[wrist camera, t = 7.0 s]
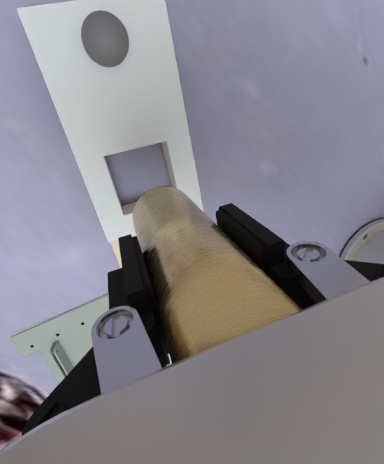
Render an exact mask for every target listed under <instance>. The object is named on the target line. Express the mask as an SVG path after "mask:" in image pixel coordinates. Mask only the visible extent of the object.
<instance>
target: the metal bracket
mask: <svg viewBox="0 0 384 464" xmlns="http://www.w3.org/2000/svg"><path fill="white" fill-rule="evenodd" d="M108 310H109V294H108V293H107V294H105V295H103V296H101V297H99V298H96V299H94V300H92V301H89V302H87V303H85V304H83V305H80V306H78V307H76V308H73V309H71V310H69V311H67V312H64V313H62V314H60V315H58V316H55V317H53V318H51V319H48V320H46V321H44V322H38V323H35V324H33V325H31V326H28V327H26V328H24V329H21V330H19V331H17V332H14V333H13V334H12V335H11V338H12V339H11V340H12V342H13V343H14V345H15V346H16V348H17V350H18V351H19V353H20V355H21V356H24V357H26V356H28V355H31V354H33V353H35V352H37V351H41V352H42V353H43V355H44V357H45V358H46V360H47V362H48V364H49V365H50V367H51V369H52V370H53V372H54V374H55V375H56V377H57V379H58V381H59V382H60V383H61V381H62V380H63V379H64V378H65V377H66V376H67V375H68V374H69V372H70V371H71V370H72V369H73V368H74V367H75V366H76V365H77V363H78V362H79V361H80V360H81V359H82V358H83V357H84V356H85V355H86V353H87V352H88V351H89V350H90V349H91V348H92V347H93V343H92V338H91V329H92V326H93V324H94V323H95V321H96V320H97V319H98V318H99V317H100V316H101V315H102V314H103V313H105V312H106V311H108ZM82 322H84V324H83V325H82V324H81V323H82ZM57 333H58V334H59V336H57V335H56V334H57ZM31 345H34V347H31Z"/></svg>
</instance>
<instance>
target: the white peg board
mask: <svg viewBox="0 0 384 464" xmlns="http://www.w3.org/2000/svg"><path fill="white" fill-rule="evenodd" d="M16 9H17V11H18V14H19V17H20V19H21V22H22V24H23V27H24V29H25V32H26V34H27V37H28V39H29V42H30V45H31V47H32V50H33V52H34V55H35V57H36V60H37V62H38V65H39V67H40V70H41V73H42V75H43V78H44V80H45V83H46V85H47V88H48V90H49V93H50V95H51V98H52V100H53V103H54V106H55V108H56V111H57V113H58V116H59V118H60V121H61V123H62V126H63V128H64V131H65V134H66V136H67V139H68V141H69V144H70V146H71V149H72V151H73V154H74V156H75V159H76V162H77V164H78V167H79V169H80V172H81V174H82V177H83V179H84V182H85V184H86V187H87V190H88V192H89V195H90V197H91V200H92V202H93V205H94V207H95V210H96V212H97V215H98V217H99V220H100V223H101V225H102V228H103V230H104V233H105V235H106V238H107V240H108V242H111V245H112V247H113V250H114V253H115V255H116V258H117V260H118V263H119V265H120V268H122V263H121V256H120V248H119V240H118V238H119V237H123V236H126V235H129V234H131V236H132V237H134V236H136V232H135V228H134V225H133V219H132V216H133V210H134V207H135V205H136V203H137V202H133V203H130V204H126V205H123V206H122V205H121V202H120V199H119V196H118V193H117V190H116V187H115V184H114V181H113V178H112V175H111V173H110V170H109V167H108V164H107V161H106V158H105V156H108V155H112V154H116V153H120V152H124V151H128V150H132V149H136V148H140V147H144V146H148V145H152V144H157V143H161V144H162V148H163V152H164V157H165V161H166V165H167V169H168V174H169V178H170V182H171V187H174V188H177V189H179V190H181V191H182V192H184V193H185V194H186V195H187V196H188V197H189V198H190V199H191V200H192V201H193V202H194V203H195V204H196V205H197V206H198V207H199V208H200V209H201V210H202V211H203V212H204V210H203V205H202V200H201V194H200V189H199V183H198V178H197V172H196V167H195V161H194V156H193V150H192V145H191V139H190V134H189V128H188V123H187V117H186V112H185V106H184V101H183V95H182V90H181V84H180V79H179V73H178V68H177V63H176V57H175V52H174V46H173V41H172V35H171V30H170V24H169V19H168V13H167V8H166V2H165V0H74V1H67V2H60V3H52V4H45V5H37V6H30V7H22V8H16Z"/></svg>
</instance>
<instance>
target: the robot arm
mask: <svg viewBox="0 0 384 464" xmlns="http://www.w3.org/2000/svg"><path fill="white" fill-rule="evenodd" d="M216 218H217V225H218V227H219V228H220V229H221V230H222V231H223V232H224V233H225V234H226V235H227V236H228V237H229V238H230V239H231V240H232V241H233V242H234V243H235V244H236V245H237V246H238V247H239V248H240V249H241V250H242V251H243V252H244V253H245V254H246V255H248V256H249V257H250V258H251V259H252V260H253V261H254V262H255V263H256V264H257V265H258V266H259V267H260V268H261V269H262V270H263V271H264V272H265V273H266V274H267V275H268V276H269V277H270V278H271V279H272V280H273V281H274V282H275V283H276V284H277V285H278V286H279V287H280V288H281V289H282V290H283V291H284V292H285V293H286V294H287V295H288V296H289V297H290V298H291V299H292V300H293V301H294V302H295V303H296V304H297V305H298V306H299V307H300V308H301V309H302V310H300V311H298V312H296V313H293V314H291V315H288V316H286V317H284V318H281V319H279V320H276V321H274V322H271V323H269V324H267V325H264V326H262V327H259V328H257V329H255V330H252V331H250V332H247V333H245V334H242V335H240V336H238V337H235V338H233V339H230V340H228V341H226V342H223V343H221V344H218V345H216V346H214V347H211V348H209V349H207V350H204V351H202V352H199V353H197V354H195V355H192V356H190V357H188V358H185V359H183V360H180V361H178V362H176V363H173V364H171V365H169V366H166V365H168V364H170V361H169V358H168V354H169V350H168V346H167V343H166V339H165V335H164V332H163V328H162V325H161V321H160V312H159V308H158V305H157V301H156V298H155V294H154V291H153V288H152V284H151V281H150V277H149V274H148V270H147V267H146V263H145V260H144V256H143V253H142V250H141V247H140V244H139V241H138V238H137V236H134V237H132V236H131V234H129V235H126V236H123V237H119V238H118V240H119V248H120V256H121V263H122V268H120V269H117V270H114V271H111V272H108V294H109V310H108V311H106V312H105V313H103V314H102V315H101V316H100V317H99V318H98V319H97V320H96V321H95V323H94V324H93V326H92V329H91V338H92V343H93V347H92V348H91V349H90V350H89V351H88V352H87V353H86V355H85V356H84V357H83V358H82V359H81V360H80V361H79V362H78V363H77V365H76V366H75V367H74V368H73V369H72V370H71V371H70V372H69V374H68V375H67V376H66V377H65V378H64V379H63V380H62V381H61V383H60V384H59V385H58V386H57V387H56V388H55V389H54V390H53V392H52V393H51V394H50V395H49V396H48V397H47V398H46V399H45V401H44V402H43V403H42V404H41V405H40V406H39V407H38V408H37V409H36V411H35V412H34V413H33V415H32V416H31V417H30V419H29V420H28V421H27V423H26V425H25V427H24V429H23V432H22V436H21V437H20V438H18V439H17V440H15V441H14V442H12V443H11V444H10V443H8V444H7V445H6V446H5V447H4V448H3V449H2V450H1V451H0V464H384V219H379V220H376V221H373V222H371V223H370V224H368V225H366V226H365V227H363V228H362V229H361V230H359V231H358V232H357V233H356V234H355V235H354V236H353V237H352V239H351V240H350V241H349V242H348V244H347V245H346V247H345V248H344V250H343V253H342V255H341V257H339V256H338V255H337V254H335V253H334V252H333V251H332V250H330V249H329V248H328V247H326V246H325V245H323V244H320V243H317V242H311V241H303V242H297V243H295V244H292V245H291V246H290V245H289V244H287V243H286V242H285V241H284V240H283V239H281V238H280V237H278V236H277V235H276V234H274V233H273V232H271V231H270V230H269V229H267V228H266V227H264V226H263V225H262V224H260V223H259V222H257V221H256V220H255V219H253V218H252V217H250V216H249V215H247V214H246V213H245V212H243V211H242V210H240V209H239V208H238V207H236V206H235V205H233V204H232V203H230V204H227V205H224V206H220V207H219V210H218V211H216Z"/></svg>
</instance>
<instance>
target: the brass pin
mask: <svg viewBox="0 0 384 464" xmlns="http://www.w3.org/2000/svg"><path fill="white" fill-rule="evenodd" d="M132 219H133V225H134V228H135V232H136V236H137V238H138V241H139V244H140V247H141V250H142V253H143V256H144V260H145V263H146V267H147V270H148V274H149V277H150V281H151V284H152V288H153V291H154V294H155V298H156V301H157V305H158V308H159V312H160V321H161V325H162V328H163V332H164V335H165V339H166V343H167V346H168V350H169V353H170V357H171V360H172V364H173V363H176V362H178V361H180V360H183V359H185V358H188V357H190V356H192V355H195V354H197V353H199V352H202V351H204V350H207V349H209V348H211V347H214V346H216V345H218V344H221V343H223V342H226V341H228V340H230V339H233V338H235V337H238V336H240V335H242V334H245V333H247V332H250V331H252V330H255V329H257V328H259V327H262V326H264V325H267V324H269V323H271V322H274V321H276V320H279V319H281V318H284V317H286V316H288V315H291V314H293V313H296V312H298V311H300V310H302V309H301V308H300V307H299V306H298V305H297V304H296V303H295V302H294V301H293V300H292V299H291V298H290V297H289V296H288V295H287V294H286V293H285V292H284V291H283V290H282V289H281V288H280V287H279V286H278V285H277V284H276V283H275V282H274V281H273V280H272V279H271V278H270V277H269V276H268V275H267V274H266V273H265V272H264V271H263V270H262V269H261V268H260V267H259V266H258V265H257V264H256V263H255V262H254V261H253V260H252V259H251V258H250V257H249V256H248V255H246V254H245V253H244V252H243V251H242V250H241V249H240V248H239V247H238V246H237V245H236V244H235V243H234V242H233V241H232V240H231V239H230V238H229V237H228V236H227V235H226V234H225V233H224V232H223V231H222V230H221V229H220V228H219V227H218V226H217V225H216V224H215V223H214V222H213V221H212V220H211V219H210V218H209V217H208V216H207V215H206V214H205V213H204V212H203V211H202V210H201V209H200V208H199V207H198V206H197V205H196V204H195V203H194V202H193V201H192V200H191V199H190V198H189V197H188V196H187V195H186V194H185V193H184V192H182V191H181V190H179V189H177V188H174V187H170V186H160V187H156V188H153V189H151V190H149V191H147V192H146V193H144V194H143V195H142V196H141V197H140V198H139V200H138V201H137V203H136V205H135V207H134V210H133V216H132Z"/></svg>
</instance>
